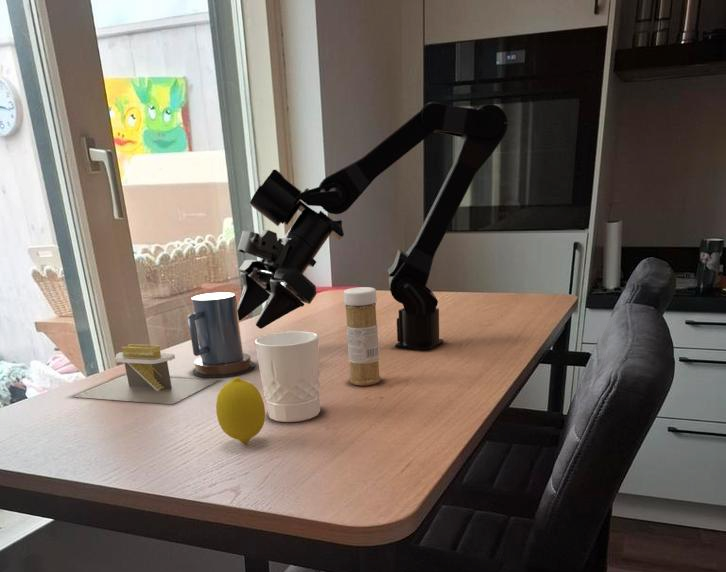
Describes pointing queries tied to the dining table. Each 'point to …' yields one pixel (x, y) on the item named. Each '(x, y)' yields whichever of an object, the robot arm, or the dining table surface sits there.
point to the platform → (146, 379)
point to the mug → (217, 335)
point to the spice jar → (362, 335)
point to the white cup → (290, 374)
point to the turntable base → (224, 375)
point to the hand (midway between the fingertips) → (247, 322)
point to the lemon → (240, 410)
